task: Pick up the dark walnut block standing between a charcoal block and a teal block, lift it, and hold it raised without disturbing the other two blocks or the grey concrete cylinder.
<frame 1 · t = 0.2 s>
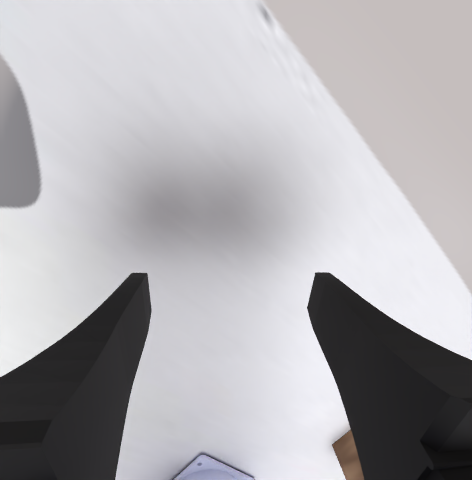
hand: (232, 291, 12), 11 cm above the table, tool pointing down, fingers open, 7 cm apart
walnut block: (358, 440, 33), on the table
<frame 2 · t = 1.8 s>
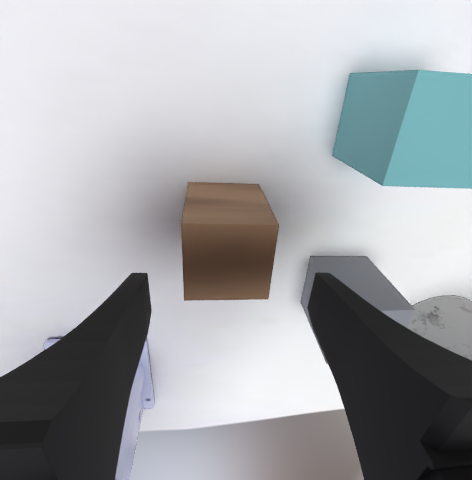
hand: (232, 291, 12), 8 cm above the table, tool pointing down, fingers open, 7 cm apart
walnut block: (222, 215, 19), on the table
charcoal block: (332, 279, 23), on the table
grey concrete cylinder: (426, 332, 28), on the table
teal block: (375, 119, 17), on the table
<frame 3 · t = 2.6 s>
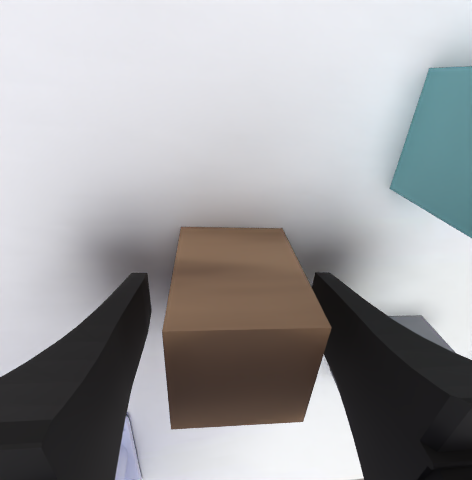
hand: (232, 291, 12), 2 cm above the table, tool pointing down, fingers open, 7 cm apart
walnut block: (230, 269, 14), on the table
charcoal block: (373, 343, 17), on the table
teal block: (458, 136, 12), on the table
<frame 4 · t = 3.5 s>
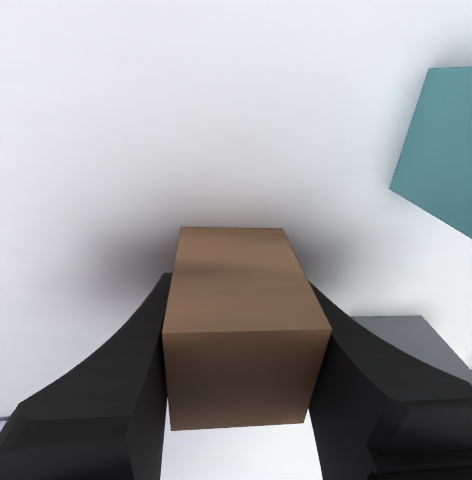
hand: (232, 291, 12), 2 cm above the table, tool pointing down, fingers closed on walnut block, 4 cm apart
walnut block: (229, 269, 14), on the table, touching gripper
charcoal block: (372, 343, 17), on the table
teal block: (458, 136, 12), on the table
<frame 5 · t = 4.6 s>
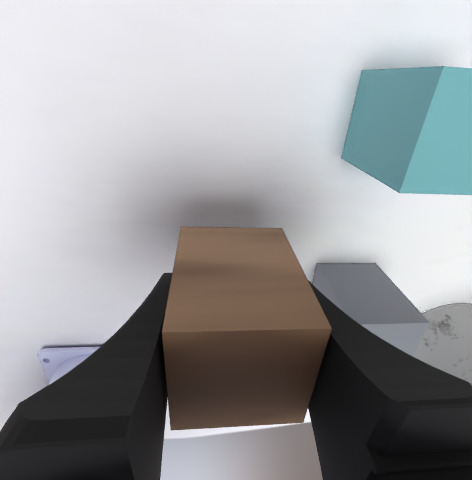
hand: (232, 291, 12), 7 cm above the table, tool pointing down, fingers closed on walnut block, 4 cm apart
walnut block: (229, 269, 14), point 5 cm above the table, touching gripper
charcoal block: (339, 287, 22), on the table
grey concrete cylinder: (436, 341, 27), on the table
teal block: (388, 119, 16), on the table
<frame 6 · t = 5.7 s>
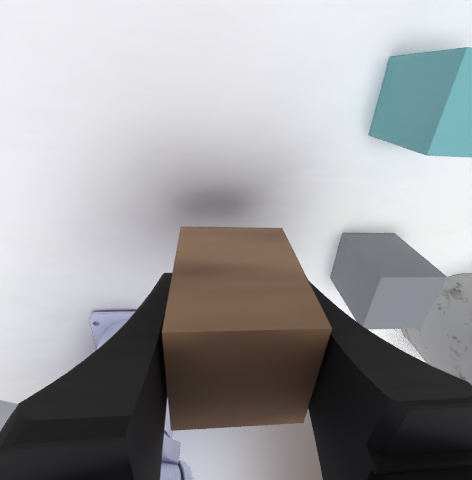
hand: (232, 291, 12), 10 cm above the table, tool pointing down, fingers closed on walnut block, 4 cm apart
walnut block: (229, 269, 14), point 8 cm above the table, touching gripper
charcoal block: (361, 256, 24), on the table
grey concrete cylinder: (446, 310, 29), on the table
teal block: (410, 100, 19), on the table
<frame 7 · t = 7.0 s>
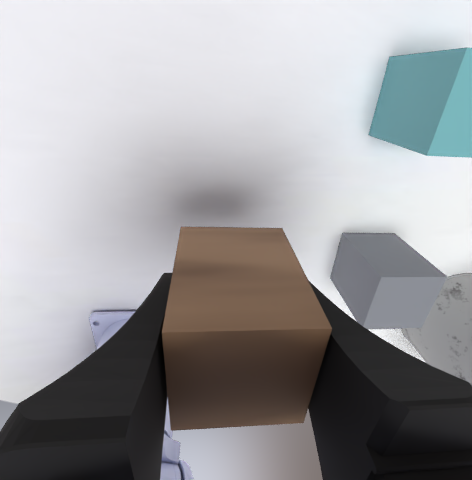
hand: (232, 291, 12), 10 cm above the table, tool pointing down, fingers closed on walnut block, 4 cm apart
walnut block: (229, 269, 14), point 8 cm above the table, touching gripper
charcoal block: (361, 256, 24), on the table
grey concrete cylinder: (446, 310, 29), on the table
teal block: (410, 100, 19), on the table
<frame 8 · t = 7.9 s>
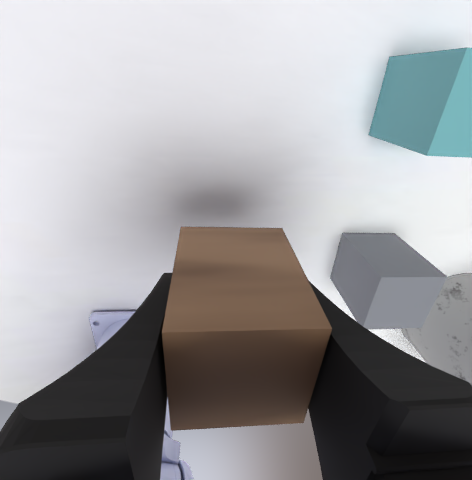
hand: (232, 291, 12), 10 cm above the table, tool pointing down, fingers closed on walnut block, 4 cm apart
walnut block: (229, 269, 14), point 8 cm above the table, touching gripper
charcoal block: (361, 256, 24), on the table
grey concrete cylinder: (446, 310, 29), on the table
teal block: (410, 100, 19), on the table
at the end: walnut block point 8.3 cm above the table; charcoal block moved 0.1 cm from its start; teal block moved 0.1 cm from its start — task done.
